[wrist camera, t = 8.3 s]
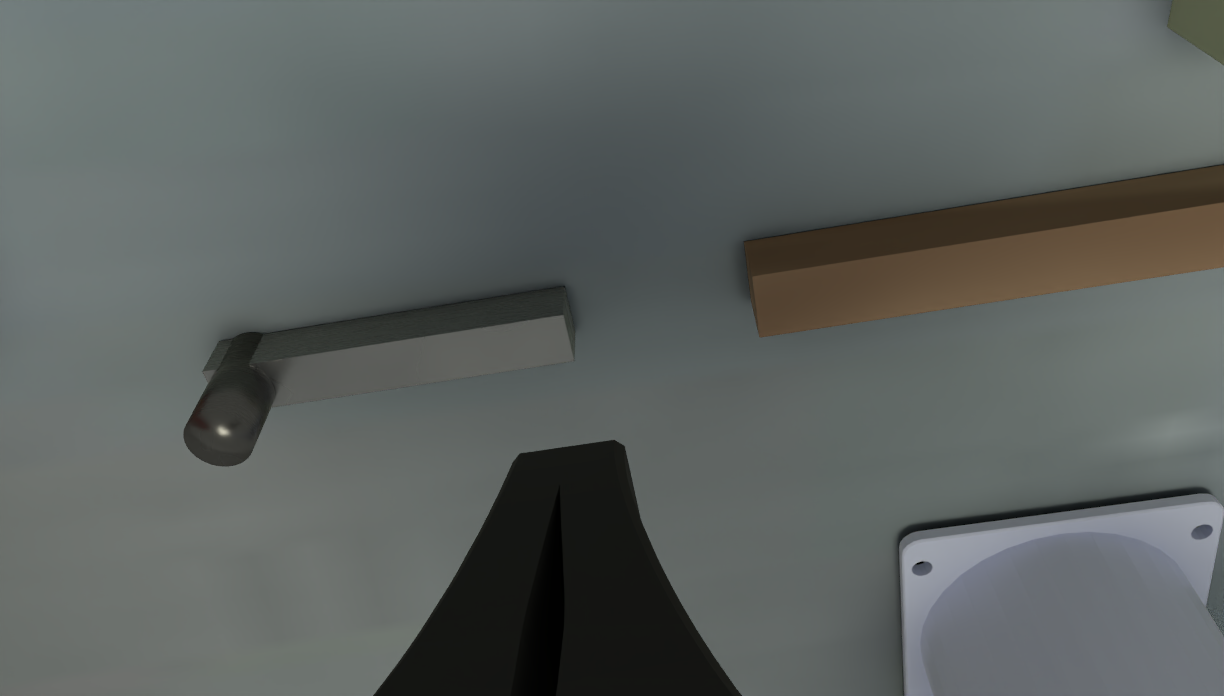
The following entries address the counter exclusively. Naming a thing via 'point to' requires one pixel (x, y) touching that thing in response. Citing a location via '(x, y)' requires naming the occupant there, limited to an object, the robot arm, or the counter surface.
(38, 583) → the counter surface
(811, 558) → the counter surface
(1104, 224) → the bay
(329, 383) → the crank handle
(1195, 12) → the box
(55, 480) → the counter surface
